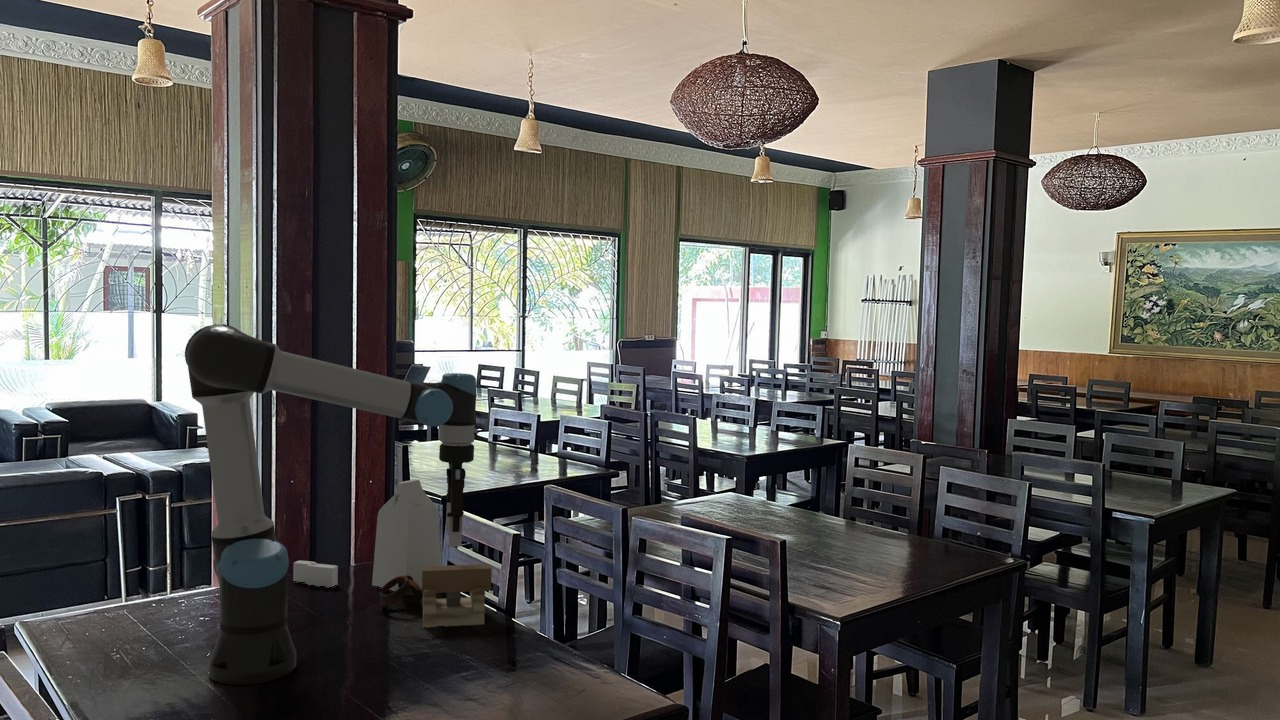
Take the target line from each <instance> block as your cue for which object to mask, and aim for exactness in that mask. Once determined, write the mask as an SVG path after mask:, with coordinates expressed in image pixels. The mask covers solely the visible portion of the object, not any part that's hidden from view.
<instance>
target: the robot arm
mask: <svg viewBox="0 0 1280 720" xmlns="http://www.w3.org/2000/svg"><path fill="white" fill-rule="evenodd" d="M184 359H185V360H184V361H185V364H186V366H187V370H188V371H187V372H188V376H189V384H190V385H189V386H190V390H191V391H190V393H191V398H192V399H193V400H195V401H197V403H198V404H200V405H201V408H202V415H203V423H204V430H205V437H206V443H207V451H208V459H209V466H210V474H211V480H212V487H213V496H214V502H215V510H216V511H215V512H216V516H217V517H216V518H217V524H216V526H215V527H214V528H213V530H212V531H211V532H210V533H211V534H210V536H211V543H212V550H213V569H214V573H215V576H216V577H217V581H218V586H219V596H220V597H219V599H220V600H219V633H218V637H217V640H216V642H215V644H214V645H215V646H214V648H213V651H212V653H211V657H210V660H209V664H208V676H209V678H210V679H211V680H213V681H214V682H217V683H219V684H220V683H221V684H224V685H233V686H234V685H235V686H238V685H239V686H243V685H247V686H248V685H256V684H262V683H267V682H271V681H275V680H277V679H280V678H282V677H285V676H286V675H288V674H290V673H291V672H294V670H295V668H296V667H297V650H296V648H295V644H294V642H293V639H292V636H291V634H290V630H289V628H288V577H289V575H288V573H289V572H288V571H289V566H290V560H289V556H288V550H287V548H286V547H285V545H284V544H282V543H281V542H279V541H277V537H276V529H275V522H274V520H272V519H270V518H269V517H267V516H266V515H265V514H266V513H265V508H264V507H265V506H264V501H263V499H264V498H263V491H262V486H261V484H262V483H261V478H260V470H259V462H258V456H257V455H258V454H257V446H256V440H255V432H254V423H253V417H252V408H251V402H250V401H251V400H250V399H251V397H252V396H254V393H256V394H257V393H258V394H260V395H264V394H265V393H267V392H269V391H274V392H278V393H283V394H288V395H293V396H297V397H300V398H305V399H310V400H316V401H320V402H324V403H328V404H334V405H338V406H343V407H347V408H353V409H357V410H361V411H367V412H370V413H375V414H380V415H384V416H389V417H391V418H398V419H402V420H406V421H411V422H414V423H419V424H422V425H424V426H426V427H439V442H441V444H440V445H439V449H438V450H439V454H438V455H439V456H438V459H439V461H441V462H443V463H448V468H446V483H447V489H446V490H447V491H446V492H447V493H446V501H447V502H446V516H445V517H446V518H445V532H448V547H462V542H463V540H462V539H463V519H464V517H463V516H464V514H465V513H464V512H465V511H464V489H465V479H466V473H467V472H466V470H465V468H463V464H464V463H466V464H467V463H472V462H473V461H474V458H475V446H474V444H473V443H474V442H475V434H476V433H478V428H475V427H476V425H475V424H476V410H477V409H476V408H477V395H478V394H477V378H476V376H475V375H473V374H471V373H462V372H461V373H460V372H458V373H457V372H455V373H454V372H453V373H450V372H449V373H448V372H447V373H444V374H443V375H442V377H441V378H442V379H441V381H438V382H420V381H418V382H414V381H412V382H411V381H406V380H403V379H398V378H395V377H390V376H386V375H382V374H378V373H374V372H370V371H366V370H361V369H356V368H353V367H349V366H345V365H340V364H336V363H332V362H329V361H324V360H319V359H316V358H311V357H309V356H308V357H307V356H304V355H299V354H295V353H291V352H287V351H282V349H280V348H279V346H278V344H277V343H272V342H268V341H265V340H262V339H259V338H257V337H253V336H250V335H248V334H247V333H245V332H243V331H241V330H239V329H237V328H236V327H234V326H231V325H228V324H225V323H224V324H216V323H214V324H211V325H210V324H209V325H205V326H204V327H201V328H199V329H198V330H197V331H195V332H194V333H193V334H192V335H191V337H190V338H189V340H187V343H186V346H185V349H184Z"/></svg>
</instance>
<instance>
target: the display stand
mask: <svg viewBox="0 0 1280 720" xmlns="http://www.w3.org/2000/svg"><path fill="white" fill-rule="evenodd" d="M461 593H462V592H447V593H446V598H437V593H436V590H424V593H423V609H422V624H423V625H422V626H423V628H424V627H426V628H438V627H437V626H444V627H458V626H459V627H460V626H462V625H463V626H475V625H476V626H479V625H481V626H482V625H485V615H486V614H485V612H486V610H485V608H486V606H485V605H486V591H485V587H483V588H473V591H470V592H469V597H468V596H467V597H462V596H461ZM463 626H462V627H463Z"/></svg>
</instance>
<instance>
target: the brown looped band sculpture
mask: <svg viewBox="0 0 1280 720" xmlns="http://www.w3.org/2000/svg"><path fill="white" fill-rule="evenodd" d="M397 583H398V587H399V589H397V590H396V591H394V592H392V591H391V592H390V593H387V592H388V590H389V589H390V588H392V587H393V586H395V585H396V584H397ZM380 589H381V588H380ZM378 595H379V597H380V603H379V604H380V606H381V608H382V607H384V608H385V607H389V606H391V605H394V604H401V605H402V604H403V602H402V597H403V599H405V600H411V599H412V598H413V597H414V602H415V603H416V602H418V603H417V604H419V605H421V606H420V608H421V610H423V594H422V590H421V589H420V587H419V585H418V584H417V583H416V582H414V581H413V578H412V577H411V576H409V575H406V576H399V577H396V578H393V579H392V580H390V581H389V582H387V583H386V584H385V585H384V586H383V587H382V589H381V591H380V592H379V594H378Z"/></svg>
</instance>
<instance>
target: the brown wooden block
mask: <svg viewBox="0 0 1280 720" xmlns="http://www.w3.org/2000/svg"><path fill="white" fill-rule="evenodd" d="M483 587H485V592H486V591H487V592H489V591H490V592H491V591H492V564H491V563H482V564H481V563H479V564H456V565H455V564H453V565H451V564H449V565H440V566H422V594H423V593H424V590H436V594H440V593H442V594H443V593H445V594H447V592H461V593H462V592H463V593H465V592H469V593H470V591H473V588H483Z"/></svg>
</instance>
